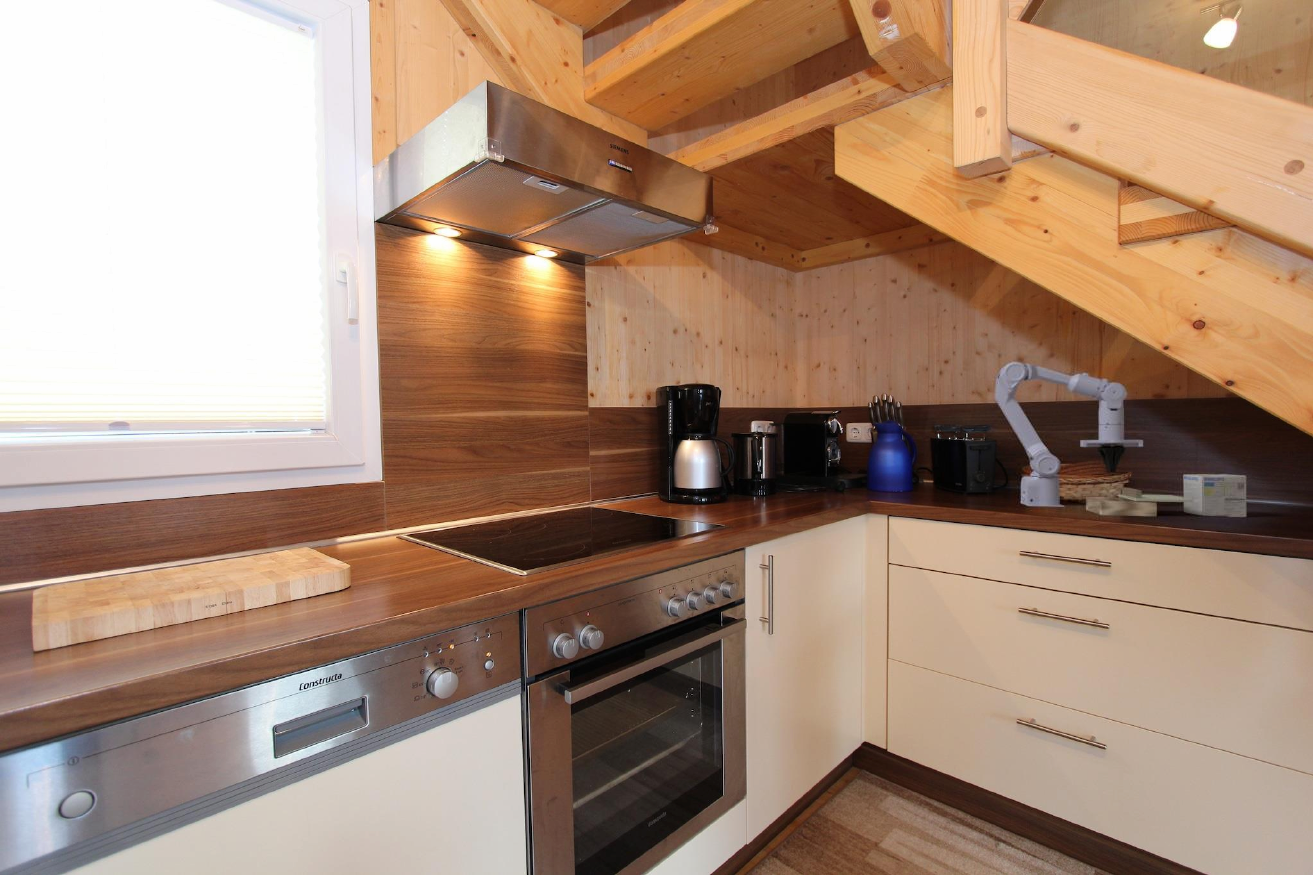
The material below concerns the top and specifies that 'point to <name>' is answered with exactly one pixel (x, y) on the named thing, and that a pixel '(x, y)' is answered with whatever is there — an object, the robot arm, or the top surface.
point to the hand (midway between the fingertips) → (1111, 472)
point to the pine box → (1120, 506)
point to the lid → (1150, 496)
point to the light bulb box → (1215, 494)
